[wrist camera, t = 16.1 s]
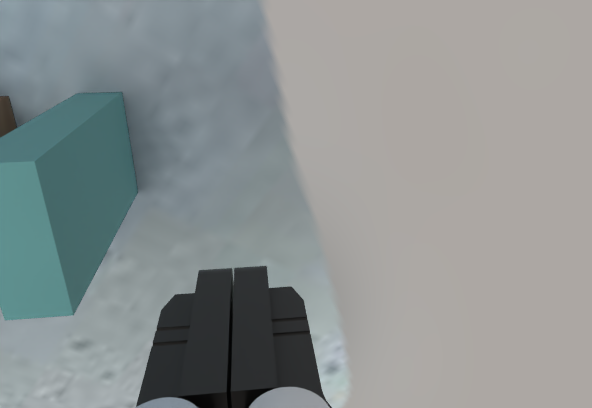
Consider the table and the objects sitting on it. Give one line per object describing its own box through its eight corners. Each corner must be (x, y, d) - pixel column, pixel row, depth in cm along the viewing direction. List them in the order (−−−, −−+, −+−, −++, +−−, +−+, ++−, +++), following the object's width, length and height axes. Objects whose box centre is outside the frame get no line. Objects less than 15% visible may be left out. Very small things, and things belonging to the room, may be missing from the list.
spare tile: (97, 193, 23) (4, 320, 14) (77, 93, 21) (-47, 164, 12) (137, 191, 23) (73, 315, 14) (122, 92, 21) (34, 161, 12)
